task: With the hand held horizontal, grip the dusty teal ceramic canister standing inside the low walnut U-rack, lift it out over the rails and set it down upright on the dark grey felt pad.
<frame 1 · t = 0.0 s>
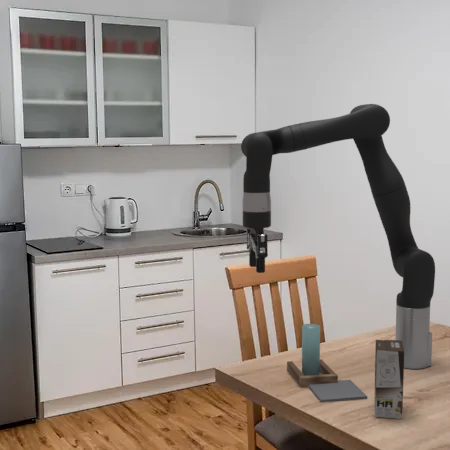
hand: (256, 269, 184), 29 cm above the table, tool pointing down, fingers open, 8 cm apart
coffee box: (388, 411, 163), on the table
felt pad: (336, 391, 175), on the table
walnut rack: (310, 376, 186), on the table
canister: (310, 351, 185), in the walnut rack
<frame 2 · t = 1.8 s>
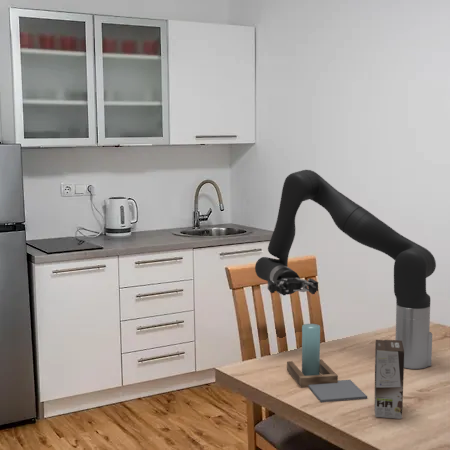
hand: (299, 291, 194), 21 cm above the table, tool horizontal, fingers open, 8 cm apart
nothing on the table moved.
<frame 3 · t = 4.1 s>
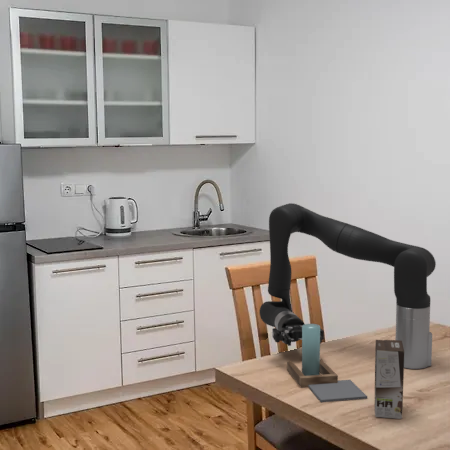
hand: (304, 341, 191), 8 cm above the table, tool horizontal, fingers open, 8 cm apart
nothing on the table moved.
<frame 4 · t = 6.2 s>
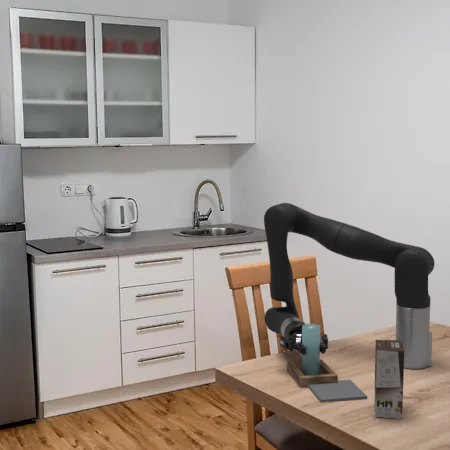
hand: (314, 350, 182), 8 cm above the table, tool horizontal, fingers closed on canister, 4 cm apart
canister: (311, 351, 185), in the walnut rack, touching gripper
everything else where it was.
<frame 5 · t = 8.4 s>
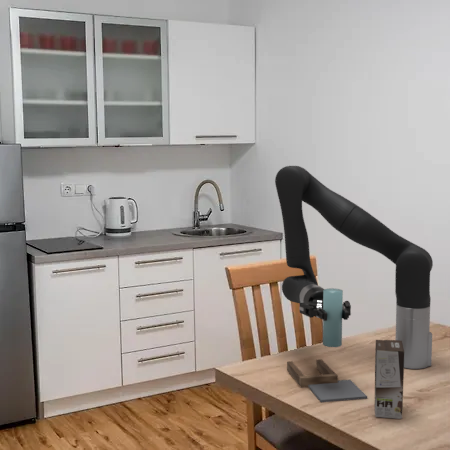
hand: (336, 316, 171), 20 cm above the table, tool horizontal, fingers closed on canister, 4 cm apart
canister: (332, 317, 174), point 19 cm above the table, touching gripper
everything else where it was.
when the fingers open (10 cm above the table, at t = 10.9 s): canister stays where it is, resting on felt pad.
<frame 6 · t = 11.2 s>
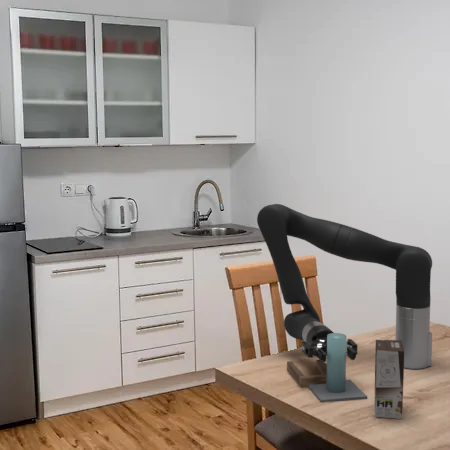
hand: (339, 357, 171), 10 cm above the table, tool horizontal, fingers open, 7 cm apart
canister: (336, 362, 174), on the felt pad, point 8 cm above the table
everything else where it was.
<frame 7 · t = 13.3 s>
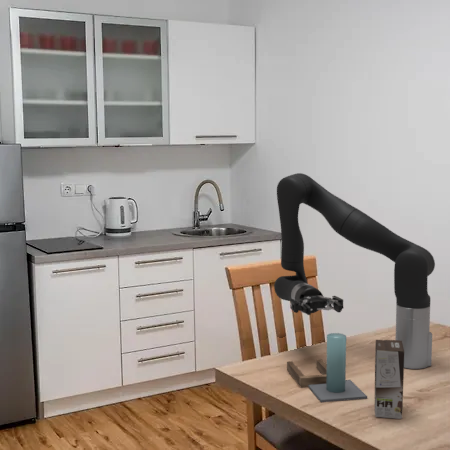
hand: (324, 310, 186), 18 cm above the table, tool horizontal, fingers open, 8 cm apart
nothing on the table moved.
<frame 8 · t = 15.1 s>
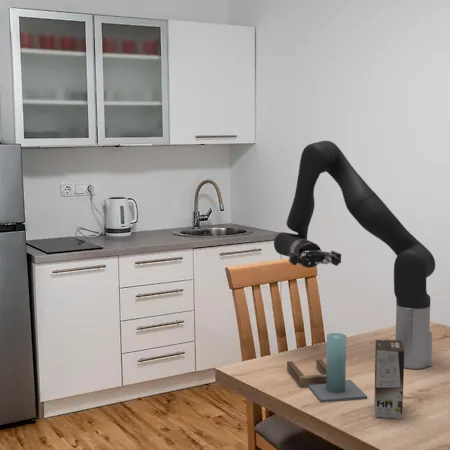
hand: (322, 262, 189), 30 cm above the table, tool horizontal, fingers open, 8 cm apart
nothing on the table moved.
at the end: canister inside the target area on the felt pad (0.1 cm from its centre), point 7.6 cm above the felt pad's base; canister tilted 0°; the gripper is holding nothing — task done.
